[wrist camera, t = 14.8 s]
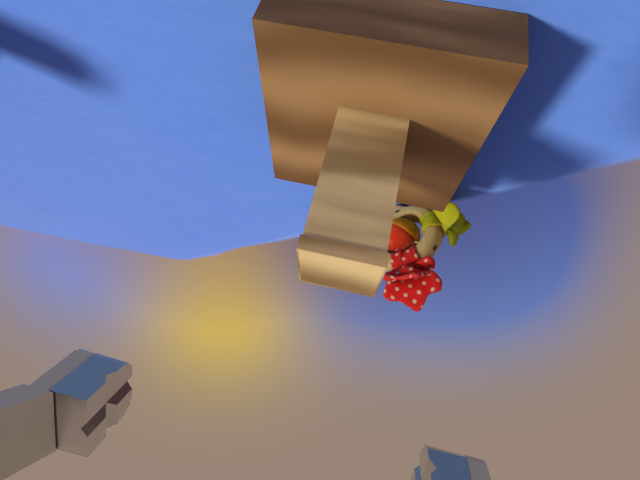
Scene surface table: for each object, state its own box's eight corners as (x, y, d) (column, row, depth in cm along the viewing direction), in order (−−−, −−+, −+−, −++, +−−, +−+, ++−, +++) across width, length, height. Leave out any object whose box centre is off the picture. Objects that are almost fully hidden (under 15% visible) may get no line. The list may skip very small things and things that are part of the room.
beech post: (337, 104, 24) (296, 248, 20) (411, 118, 24) (386, 267, 19) (333, 153, 28) (299, 280, 24) (397, 165, 28) (374, 297, 24)
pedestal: (273, -26, 22) (252, 18, 20) (528, 14, 21) (528, 65, 19) (287, 141, 35) (275, 177, 33) (447, 172, 33) (443, 211, 32)
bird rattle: (419, 205, 42) (497, 219, 35) (369, 295, 41) (440, 329, 34) (387, 171, 39) (466, 179, 32) (330, 269, 37) (400, 301, 30)
